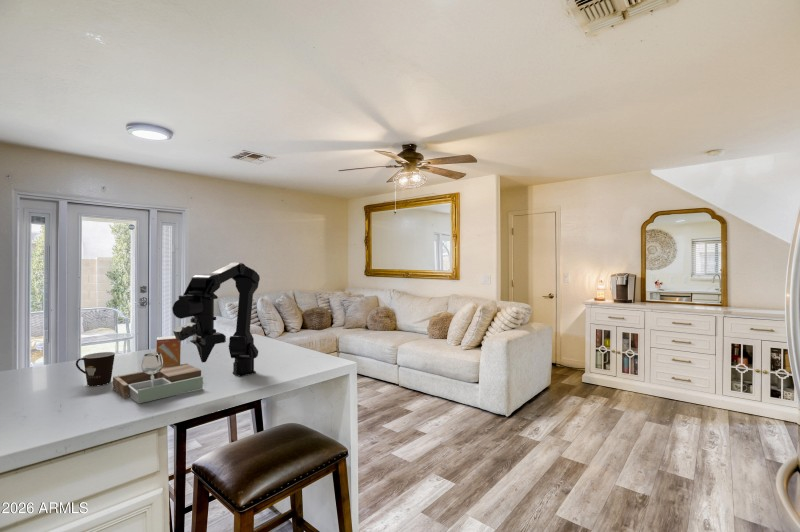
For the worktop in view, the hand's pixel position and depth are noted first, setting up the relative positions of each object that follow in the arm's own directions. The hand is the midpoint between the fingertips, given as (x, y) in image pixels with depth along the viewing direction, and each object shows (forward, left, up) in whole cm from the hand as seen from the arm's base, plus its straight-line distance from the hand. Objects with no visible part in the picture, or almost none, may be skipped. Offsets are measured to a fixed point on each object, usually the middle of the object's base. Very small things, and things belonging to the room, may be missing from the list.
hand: (203, 362), depth 119 cm
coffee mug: (+20, -39, -11) cm, 46 cm away
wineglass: (+11, -12, -10) cm, 19 cm away
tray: (+7, -12, -10) cm, 17 cm away
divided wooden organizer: (+7, -21, -11) cm, 24 cm away
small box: (-2, -38, -11) cm, 40 cm away
